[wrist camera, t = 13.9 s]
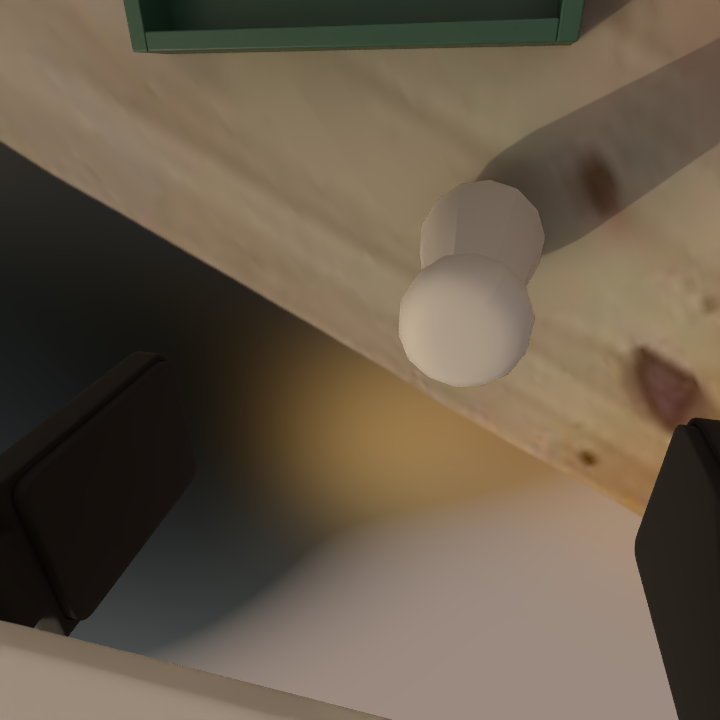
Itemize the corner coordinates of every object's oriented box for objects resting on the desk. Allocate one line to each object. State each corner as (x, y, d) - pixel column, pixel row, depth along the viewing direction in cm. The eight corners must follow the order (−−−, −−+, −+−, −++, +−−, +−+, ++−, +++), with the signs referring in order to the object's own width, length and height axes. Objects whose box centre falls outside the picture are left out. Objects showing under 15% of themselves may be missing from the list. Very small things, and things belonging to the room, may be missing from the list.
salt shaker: (554, 265, 27) (582, 399, 16) (448, 296, 29) (408, 433, 18) (523, 152, 25) (531, 216, 14) (411, 196, 27) (341, 280, 16)
